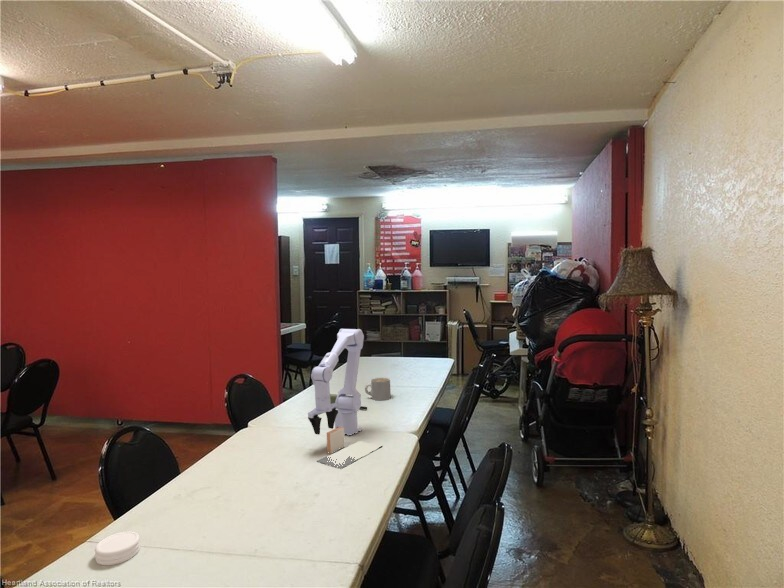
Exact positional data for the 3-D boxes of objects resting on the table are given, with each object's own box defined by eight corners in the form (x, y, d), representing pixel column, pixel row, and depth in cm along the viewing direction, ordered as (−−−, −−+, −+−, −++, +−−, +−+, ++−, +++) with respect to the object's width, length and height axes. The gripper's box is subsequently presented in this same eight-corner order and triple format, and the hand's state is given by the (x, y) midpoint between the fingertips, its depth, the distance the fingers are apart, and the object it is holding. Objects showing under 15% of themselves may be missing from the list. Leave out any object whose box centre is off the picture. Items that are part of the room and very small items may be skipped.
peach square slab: (327, 453, 184) (326, 432, 183) (341, 446, 190) (340, 426, 190) (330, 454, 183) (329, 433, 182) (344, 447, 189) (344, 427, 189)
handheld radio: (325, 405, 248) (368, 409, 237) (321, 407, 245) (365, 411, 234) (324, 392, 247) (367, 396, 237) (320, 394, 244) (364, 398, 234)
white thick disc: (86, 562, 120) (85, 548, 120) (121, 540, 129) (120, 527, 129) (115, 570, 116) (114, 556, 116) (149, 547, 126) (148, 534, 125)
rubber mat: (316, 461, 176) (316, 460, 176) (359, 440, 195) (359, 440, 195) (341, 469, 169) (341, 468, 169) (382, 446, 188) (382, 445, 188)
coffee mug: (391, 395, 261) (391, 377, 260) (389, 400, 251) (388, 381, 250) (367, 395, 262) (366, 377, 262) (364, 400, 252) (363, 382, 252)
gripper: (316, 403, 181) (318, 438, 181) (342, 393, 192) (344, 427, 193) (303, 400, 185) (305, 435, 186) (329, 391, 196) (331, 424, 197)
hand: (324, 431), depth 190 cm, fingers open, 7 cm apart
